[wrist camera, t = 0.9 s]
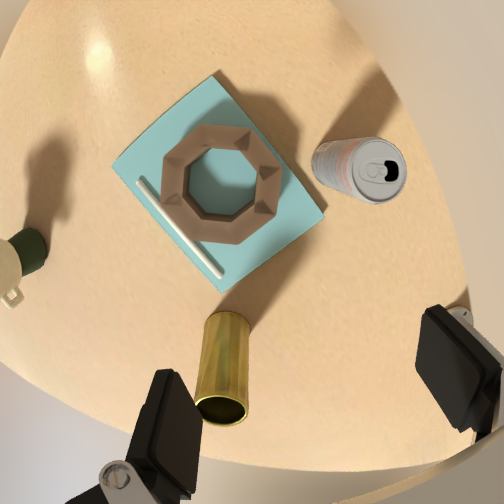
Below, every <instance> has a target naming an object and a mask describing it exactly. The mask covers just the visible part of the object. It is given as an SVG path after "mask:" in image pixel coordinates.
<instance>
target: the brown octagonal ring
mask: <svg viewBox="0 0 504 504" xmlns="http://www.w3.org/2000/svg"><path fill="white" fill-rule="evenodd" d="M212 148H215V149H227V150H237V151H240V152H241V153H242V154H243V155H244V157H245V158H246V159H247V160H248V162H249V163H250V164H251V165H252V167H253V168H254V169H255V170H256V172H257V174H256V183H255V191H254V199H252V200H251V201H250V202H249V203H247V204H246V205H245V206H243V207H242V208H241V209H240V210H238V211H237V212H236V213H235V214H233V215H226V214H216V213H206V212H205V211H204V210H203V209H202V207H201V206H200V205H199V204H198V203H197V201H196V200H195V199H194V198H193V197H192V195H191V194H190V193H189V184H190V173H191V165H193V164H194V163H195V162H196V161H197V160H199V159H200V158H201V157H202V156H203V155H205V154H206V153H207V152H208V151H209V150H211V149H212ZM282 171H283V168H282V166H281V164H280V163H279V162H278V160H277V159H276V158H275V157H274V155H273V154H272V153H271V152H270V150H269V149H268V148H267V147H266V145H265V144H264V143H263V142H262V140H261V139H260V138H259V137H258V135H257V134H256V133H255V132H254V131H253V129H251V128H244V127H234V126H223V125H210V124H202V125H201V124H200V125H199V126H198V127H197V128H196V129H194V130H193V131H192V132H191V133H190V134H188V135H187V136H186V137H185V138H184V139H182V140H181V141H180V142H179V143H178V144H177V145H176V146H174V147H173V148H172V149H171V150H170V151H169V152H168V153H167V154H165V155H164V157H163V165H162V178H161V194H160V204H161V206H162V208H163V209H164V210H165V211H166V212H167V213H168V215H169V216H170V217H171V218H172V219H173V220H174V222H175V223H176V224H177V225H178V226H179V227H180V229H181V230H182V231H183V232H184V233H185V234H186V235H187V237H188V238H189V239H190V240H193V241H202V242H212V243H222V244H232V245H237V244H238V245H239V244H240V243H242V242H243V241H244V240H245V239H247V238H248V237H249V236H251V235H252V234H253V233H255V232H256V231H257V230H258V229H260V228H261V227H262V226H264V225H265V224H266V223H268V222H269V221H270V220H272V219H273V218H274V217H276V216H275V215H276V214H277V207H278V200H279V193H280V186H281V178H282Z"/></svg>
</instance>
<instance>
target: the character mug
mask: <svg viewBox="0 0 504 504" xmlns="http://www.w3.org/2000/svg"><path fill="white" fill-rule="evenodd" d="M45 258H46V250H45V245H44V242H43V239H42V237H41V236H40V234H39V233H38V232H37V231H36V230H33V229H31V228H27V229H23V230H21V231H20V232H18V233H17V234H16V235H14V236H13V237H12V238H10V239H9V240H8V241H6V240H3V239H0V302H1V301H3V302H4V304H5V305H6V306H7V307H8V308H9V309H14V308H15V307H16V306H17V305H18V304H20V303H21V302H22V301H23V300H24V295H23V293H22V292H21V291H20V290H19V288H18V286H19V283H20V280H21V277H23V276H25V275H27V274H30V273H32V272H34V271H36V270H38V269H40V268H41V267H42V266H43V265H44V262H45ZM12 292H13V293H14V294H15V296H16V297H15V298H14V299H13V300H10V299H9V297H8V295H9V294H11V293H12Z"/></svg>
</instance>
